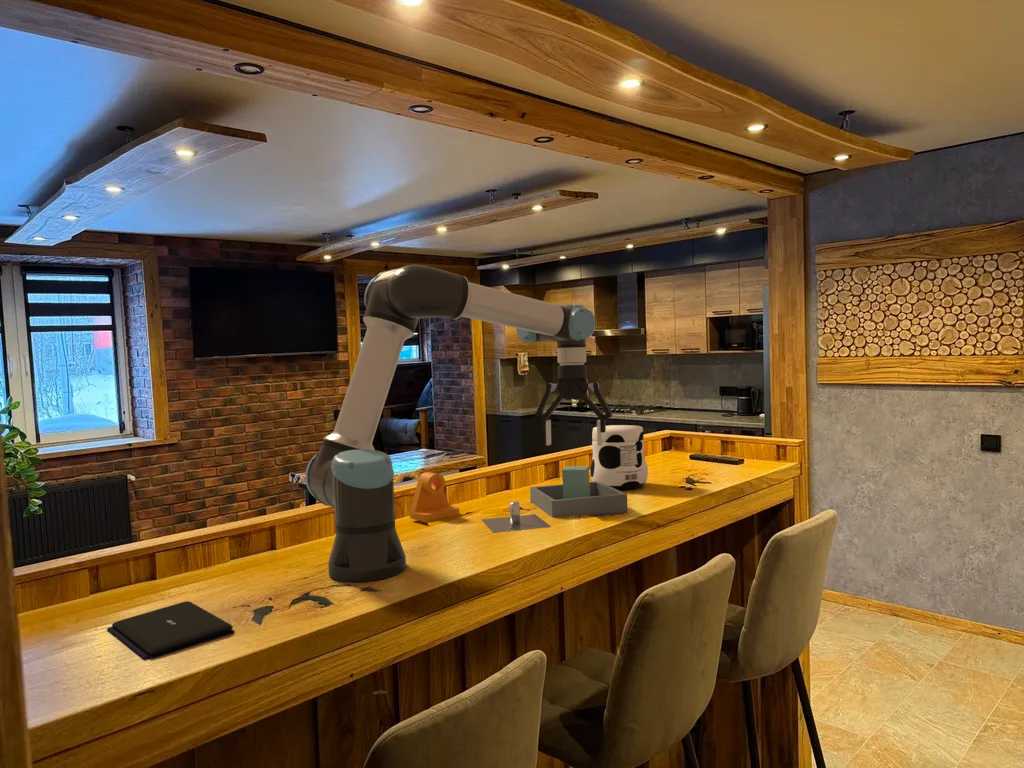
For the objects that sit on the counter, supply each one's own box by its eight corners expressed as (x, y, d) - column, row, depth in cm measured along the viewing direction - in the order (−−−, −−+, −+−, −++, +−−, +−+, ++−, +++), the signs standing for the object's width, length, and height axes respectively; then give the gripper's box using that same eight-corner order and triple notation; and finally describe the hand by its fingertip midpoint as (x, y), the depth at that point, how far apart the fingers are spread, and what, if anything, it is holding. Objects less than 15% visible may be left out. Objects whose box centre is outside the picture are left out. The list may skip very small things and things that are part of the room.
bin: (552, 521, 176) (551, 501, 176) (530, 505, 196) (530, 487, 195) (627, 513, 181) (627, 494, 181) (599, 498, 200) (598, 481, 200)
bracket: (426, 525, 177) (423, 478, 176) (410, 521, 183) (408, 475, 182) (461, 518, 184) (459, 472, 183) (445, 514, 189) (443, 469, 189)
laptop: (123, 670, 101) (122, 656, 101) (105, 629, 117) (104, 617, 117) (238, 640, 110) (238, 627, 110) (207, 605, 126) (206, 594, 126)
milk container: (607, 479, 229) (605, 424, 228) (657, 483, 219) (655, 425, 218) (580, 489, 215) (578, 430, 214) (632, 494, 205) (630, 432, 204)
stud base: (493, 537, 163) (492, 511, 163) (481, 523, 177) (480, 499, 177) (551, 531, 167) (550, 505, 166) (535, 518, 180) (534, 494, 180)
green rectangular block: (586, 508, 185) (584, 470, 184) (563, 507, 186) (562, 469, 186) (590, 503, 190) (588, 466, 190) (568, 502, 192) (566, 466, 192)
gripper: (621, 362, 187) (623, 443, 188) (529, 365, 194) (531, 442, 194) (617, 363, 180) (619, 447, 180) (522, 365, 186) (524, 446, 187)
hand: (574, 445), depth 187 cm, fingers open, 13 cm apart
